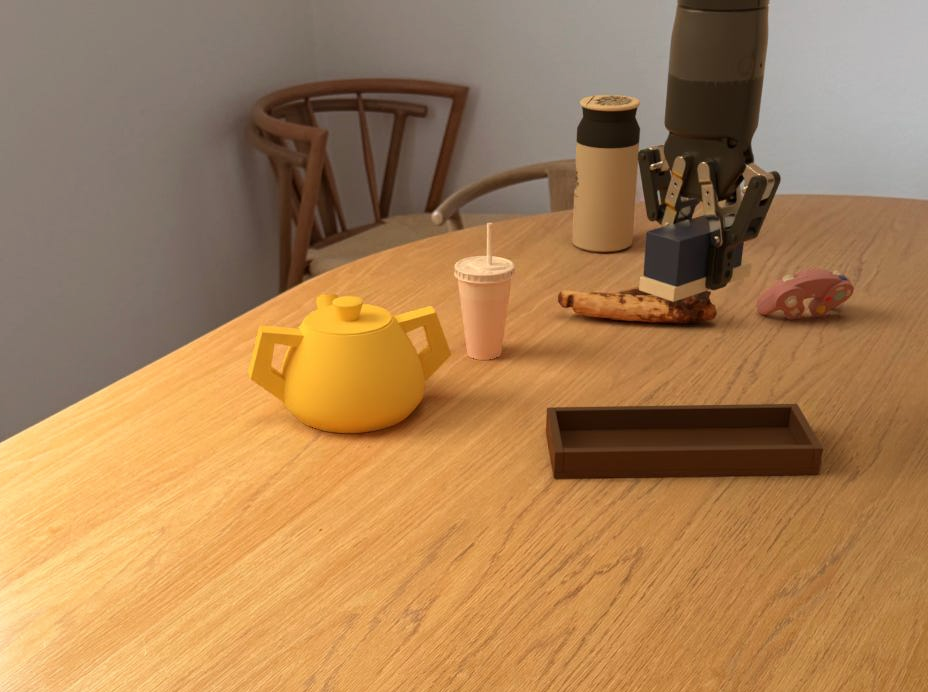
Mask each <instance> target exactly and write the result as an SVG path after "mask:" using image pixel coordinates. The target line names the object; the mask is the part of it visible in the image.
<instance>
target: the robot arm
mask: <svg viewBox="0 0 928 692" xmlns="http://www.w3.org/2000/svg"><path fill="white" fill-rule="evenodd" d="M676 3H677V5H676V9H675V16H674V20H673V21H674V22H673V26H672V31H671V35H670V47H669V48H670V49H669V60H668V72H667V85H666V98H665V110H664V111H665V112H664V122H663V123H664V127H665V129H666V130H667V131H668V134H667V137H666V139H665V141H664V145H663V144H660V145H653V146H650V147H646V148H643V149H639V153H638V168H639V174H640V180H641V186H642V193H643V199H644V206H645V211H646V217H647V219H648V221H650V222H657V223H658V224H659V225H660V226H661V227H664V226H668V225H671V224H675V223H678V222H682V221H685V220H689V219H692V218H693V216H694V213H695V210H696V208H697V206H698V205H699V204H700V203H702V208H703V215H704V216H705V218H706V219H708V221H709V228H710V238H711V244H712V246H709V251H708V261H707V271H706V281H705V287H706V288H707V289H710V290H709V291H718V290H720V289H723V288H725V287H726V286H727V285H728V284H729V283H728V282H730V280H731V278H732V275H733V266H734V265H733V264H734V258H735V249H736V246H737V244H739V243H742V242H744V243H745V242H749V241H751V240H754V239H757V238H758V236H759V234H760V232H761V230H762V227H763V226H764V225H763V224H764V222H765V220H766V217H767V215H768V213H769V211H770V208H771V205H772V204H773V200H774V199H775V196H776V194H777V191H778V189H779V186H780V184H781V180H782V178H781V177H782V176H781V175H780V172H779V171H777V170H772V171H769V172H767V171H765V170H764V169H762V168H761V167H760V166H758V165H757V164H756V163H755V156H754V153H753V148H752V140H753V138H754V135H755V133H756V132H757V129H758V127H759V121H760V113H761V105H762V104H761V103H762V96H763V87H764V80H765V79H764V78H765V70H766V61H767V52H768V45H769V12H770V11H769V9H770V6H769V5H770V0H676ZM743 182H744V184H743V187H742V186H741V184H742V183H743ZM741 187H742V188H741ZM658 193H659V194H658ZM742 194H743V196H742ZM659 199H660V201H659ZM723 201H724V204H723V205H720V204H719V202H723ZM724 219H725V229H724ZM661 227H660V228H661ZM727 283H728V284H727Z"/></svg>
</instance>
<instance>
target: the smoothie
mask: <svg viewBox="0 0 928 692" xmlns="http://www.w3.org/2000/svg"><path fill="white" fill-rule="evenodd" d="M515 268H516V265H515V263H514V262H513V261H512V260H510V259H508V258H505V257H501V256H495V255H493V222H487V223H486V255H478V256H477V255H475V256H470V257H469V256H468V257H464V258H462V259H460V260H458V261H456V262H455V264H454V272H453V276H454V278H456V279H457V284H458V285H457V286H458V293H459V300H460V308H461V315H462V323H463V324H462V325H463V333H464V339H465V348H466V355H467V356H468V357H469V358H470V359H473V358H474V360H478V361H489V360H490V359H491V360H495V359H497V358H496V357H498V358H500V356H501V355H502V351H503V342H504V336H505V329H506V323H507V314H508V308H509V301H510V293H511V286H512V280H513V278H514V277H515V275H516V272H515V270H516V269H515ZM494 358H495V359H494Z"/></svg>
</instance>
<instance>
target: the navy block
mask: <svg viewBox="0 0 928 692" xmlns="http://www.w3.org/2000/svg"><path fill="white" fill-rule="evenodd" d="M724 229H725V219H724ZM744 245H745V242H742V243H739V244H737V246H736V249H735V258H734V264H733V265H734V266H733V275H732V278H731V280H730V282H728V283H727V285H728V284H731V283H734V282H737V281H741V280H742V279H743V280H744V279H746V278H748V277H750V276H751V272H752V265H753V264H752V262H749V261H746V260H743V253H744ZM709 246H712V244H711V238H710V228H709V221H708V219H706V218H705V216H704V214H703V215H699V216H696V217H694V218H693V217H692V219H689V220H685V221H682V222H678V223H675V224H671V225H668V226H664V227H658V228H654V229H651V230H647V231H646V233H645V246H644V247H645V248H644V259H643V260H644V262H643V272H642V274H643V275H642V276H640V277H639V283H638V284H639V285H638V287H639V290H640V291H643V292H646V293H649V294H652V295H651V296H658V297H661V298H664V299H667V300H670V301H673V302H674V301H677V300H680V299H683V298H686V297H689V296H692V295H695V294H698V293H701V292H704V291H711V290H710V289H707V288H706V287H705V281H706V271H707V261H708V251H709Z"/></svg>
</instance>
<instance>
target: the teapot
mask: <svg viewBox="0 0 928 692" xmlns="http://www.w3.org/2000/svg"><path fill="white" fill-rule="evenodd" d="M315 303H316V309H315V310H313V311H311V312H310V313H308V314H307V315H306V316H305V317H304V319H303V320H302V322H301V323H300V324H299V326H298V328H297V327H285V326H274V325H262V324H260V325H258V326H259V327H258V330H257V334H256V339H255V342H254V346H253V351H252V355H251V359H250V363H249V368H248V371H247V372H248V376H249V378H250V380H251V381H252V382H254V383H255V384H256V385H258V386H260V387H261V388H262V389H263V390H265V391H267V392H268V393H269V394H271V395H272V396H274V397H275V398H277V399H278V400H280V401H281V403H282V404H283V405H284V406H285V408H286V409H287V410H288V411H289V412H290V413H291V414H292V415H293V416H294V417H295V418H296V419H298V420H299V421H300V422H301V423H303V424H304V425H305V426H308V427H310V426H311V427H310V428H312V427H313V428H312V429H315V428H316V429H315V430H318V429H319V431H322V430H323V432H328V433H337V434H359V433H360V434H361V433H368V432H369V433H370V432H374V431H379V430H384V429H387V428H390V427H393V426H395V425H398V424H400V423H401V422H403V421H405V420H406V419H407V418H408V417H409V416H410V415H411V414H412V413H413V412H414V410H416V408H417V407H418V406H419V404H420V403H421V402H422V400H423V399H424V395H425V392H426V382H427V381H428V380H429V379H430V378H431V377H432V376H433V375H434V374H435V373H436V371H438V369H440V368H441V367H442V366H443V364H444V363H446V362H447V361H448V360H449V358H450V357H451V356H452V355H453V354H452V352H451V349H450V347H449V344H448V341H447V338H446V335H445V333H444V330H443V328H442V325H441V322H440V320H439V319H440V318H439V317H438V316H439V315H438V314H437V311H436V310H435V309H434V307H433V306H432V305H427V306H425V307H421V308H418V309H415V310H410V311H408V312H404V313H401V314H400V313H399V314H397V315H393V314H392V313H391V312H389V311H388V310H387V309H386V308H384V307H381V306H377V305H372V304H368V303H367V304H366V303H364V300H363V298H360V297H359V296H355V295H343V296H339V295H338V294H336V293H324V294H321V295H319V296H317V297H316V298H315ZM421 327H422V328H423V331H424V335H425V339H426V344H427V345H426V346H425V347H424V348H423V349H421V351H419V353H418V352H417V349H416V347H415V345H414V344H413V342H412V341H411V339H410V337H409V336H408V334H407V333H410V332H411V331H414V330H417V329H419V328H421ZM275 344H276V345H283V346H288V348H287V349H286V352H285V355H284V358H283V361H282V363H281V367H280V368H281V369H280V371H279V370H278V369H276V368H275V367H272V365H273V357H274V352H275Z"/></svg>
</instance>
